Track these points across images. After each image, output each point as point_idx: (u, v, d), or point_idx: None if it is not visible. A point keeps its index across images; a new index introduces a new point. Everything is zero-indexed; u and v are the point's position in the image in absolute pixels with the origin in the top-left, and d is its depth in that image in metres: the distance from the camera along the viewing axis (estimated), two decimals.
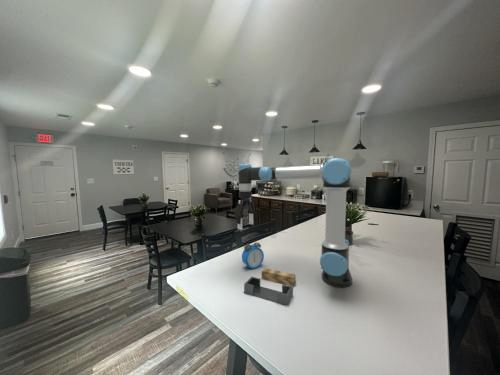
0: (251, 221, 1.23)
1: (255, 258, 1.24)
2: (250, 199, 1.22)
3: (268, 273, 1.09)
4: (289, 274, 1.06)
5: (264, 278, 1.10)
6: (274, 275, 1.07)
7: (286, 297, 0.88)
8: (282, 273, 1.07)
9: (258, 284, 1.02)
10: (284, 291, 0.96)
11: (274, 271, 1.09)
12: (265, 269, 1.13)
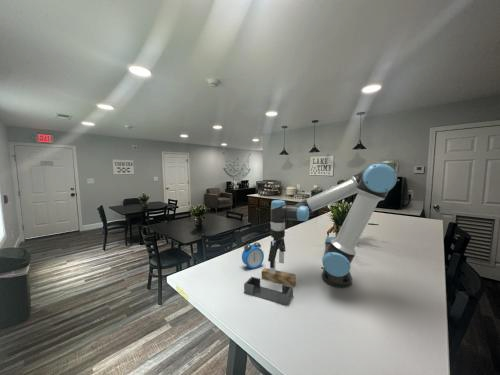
0: (282, 260, 1.14)
1: (255, 258, 1.24)
2: None
3: (268, 273, 1.09)
4: (289, 274, 1.06)
5: (264, 278, 1.10)
6: (274, 275, 1.07)
7: (286, 297, 0.88)
8: (282, 273, 1.07)
9: (258, 284, 1.02)
10: (284, 291, 0.96)
11: None
12: (265, 269, 1.13)
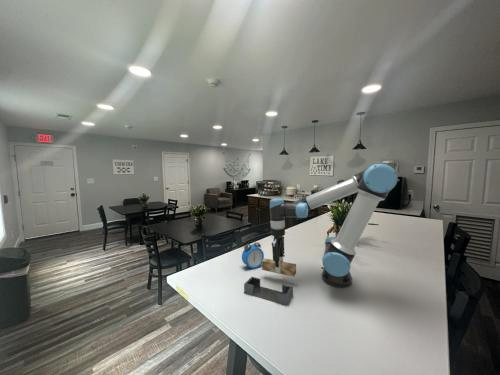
0: None
1: (255, 258, 1.24)
2: (282, 237, 1.12)
3: (268, 263, 1.09)
4: (289, 264, 1.05)
5: (264, 268, 1.10)
6: (274, 265, 1.07)
7: (286, 297, 0.88)
8: (282, 263, 1.07)
9: (258, 284, 1.02)
10: (284, 291, 0.96)
11: (274, 261, 1.09)
12: (265, 259, 1.12)
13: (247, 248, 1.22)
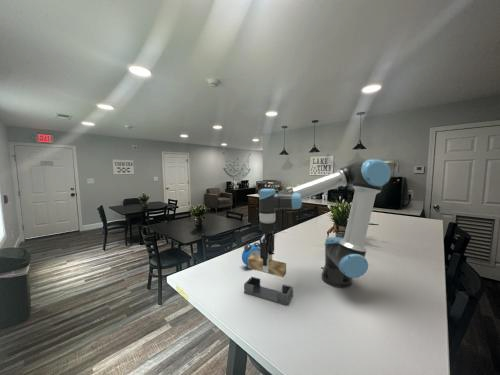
0: None
1: None
2: None
3: (255, 261, 0.96)
4: (278, 263, 0.93)
5: (250, 267, 0.98)
6: (262, 263, 0.95)
7: (286, 297, 0.88)
8: (271, 261, 0.95)
9: (258, 284, 1.02)
10: (284, 291, 0.96)
11: (262, 259, 0.97)
12: (253, 256, 1.00)
13: (247, 248, 1.22)
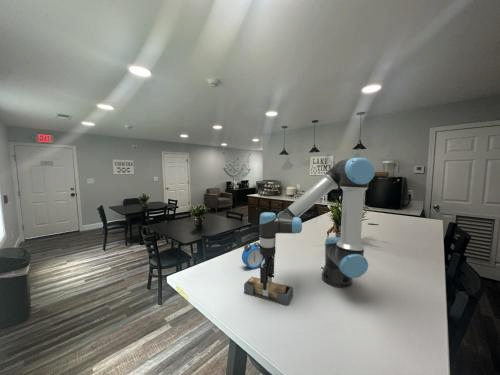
0: None
1: (255, 258, 1.24)
2: (272, 255, 1.00)
3: (255, 284, 0.97)
4: (278, 285, 0.94)
5: None
6: (262, 286, 0.95)
7: (286, 297, 0.88)
8: (271, 284, 0.95)
9: None
10: None
11: None
12: (253, 278, 1.01)
13: (247, 248, 1.22)
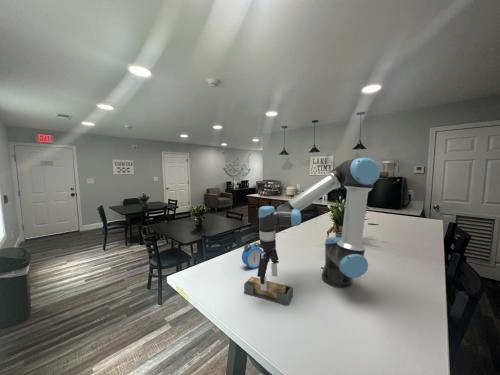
0: (275, 273, 1.01)
1: (255, 258, 1.24)
2: None
3: (255, 284, 0.97)
4: (278, 285, 0.94)
5: None
6: None
7: (286, 297, 0.88)
8: (271, 284, 0.95)
9: None
10: None
11: None
12: (253, 278, 1.01)
13: (247, 248, 1.22)
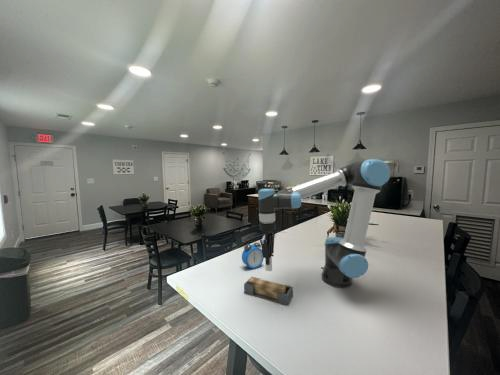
0: None
1: (255, 258, 1.24)
2: (272, 234, 0.99)
3: (255, 284, 0.97)
4: (278, 285, 0.94)
5: None
6: (262, 286, 0.95)
7: (286, 297, 0.88)
8: (271, 284, 0.95)
9: None
10: None
11: (262, 282, 0.97)
12: (253, 278, 1.01)
13: (247, 248, 1.22)
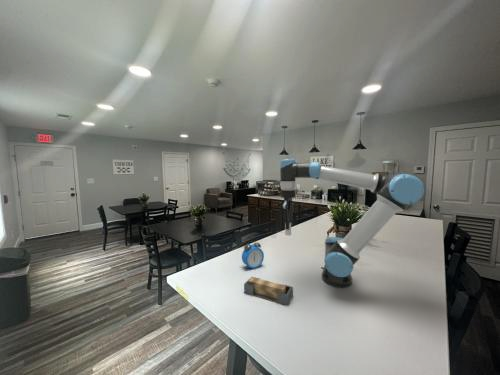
0: None
1: (255, 258, 1.24)
2: None
3: (255, 284, 0.97)
4: (278, 285, 0.94)
5: None
6: (262, 286, 0.95)
7: (286, 297, 0.88)
8: (271, 284, 0.95)
9: None
10: None
11: (262, 282, 0.97)
12: (253, 278, 1.01)
13: (247, 248, 1.22)
